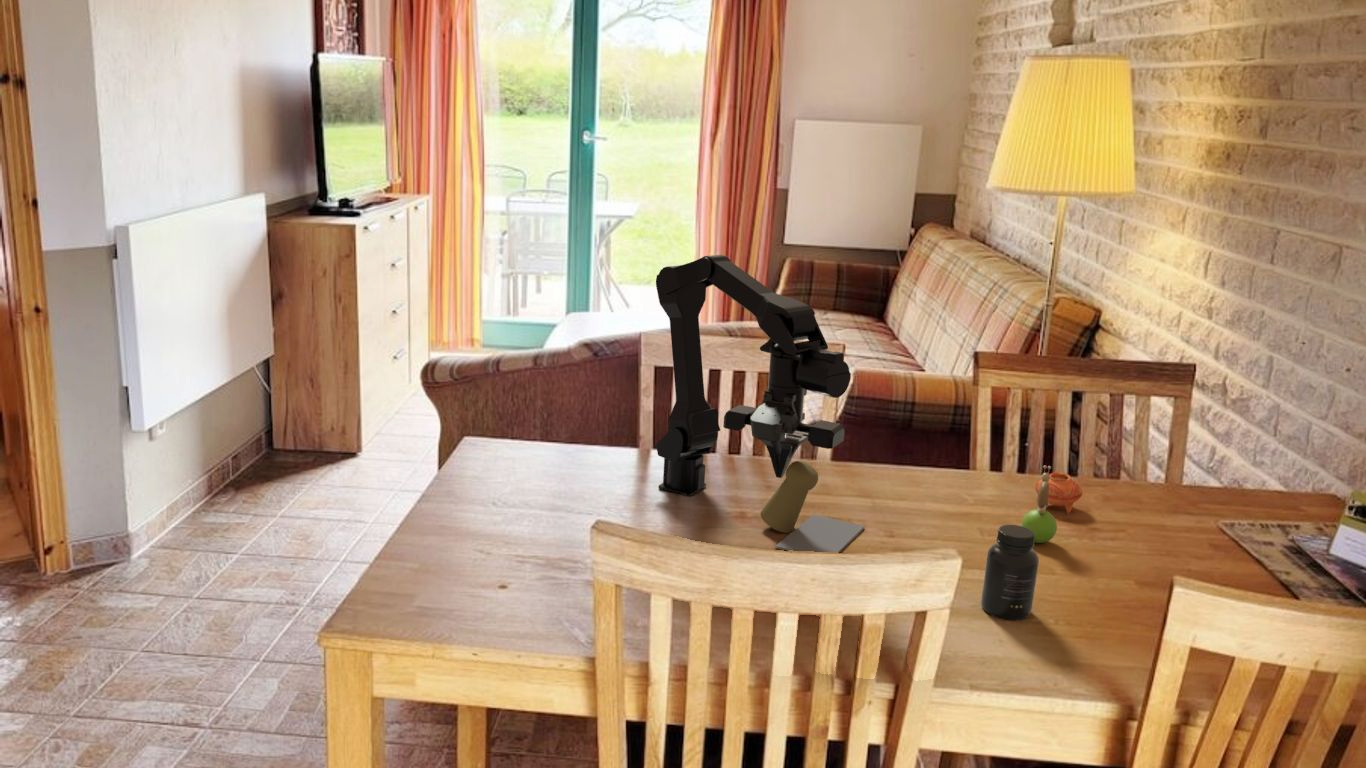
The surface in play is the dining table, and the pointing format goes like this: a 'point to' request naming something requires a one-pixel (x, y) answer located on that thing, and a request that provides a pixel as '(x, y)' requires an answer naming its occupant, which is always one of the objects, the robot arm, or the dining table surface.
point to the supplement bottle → (1010, 574)
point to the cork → (790, 497)
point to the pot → (1062, 490)
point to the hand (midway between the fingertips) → (779, 477)
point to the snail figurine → (1041, 514)
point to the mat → (820, 535)
